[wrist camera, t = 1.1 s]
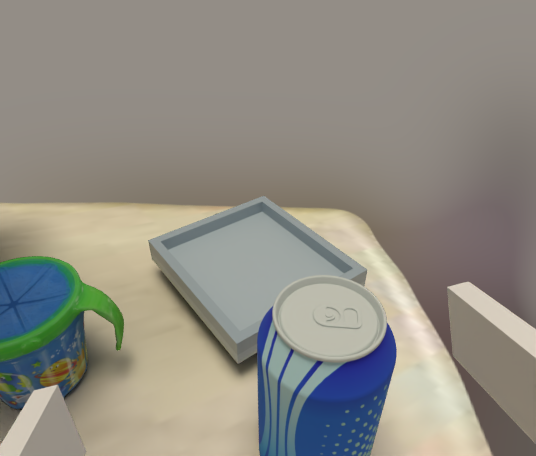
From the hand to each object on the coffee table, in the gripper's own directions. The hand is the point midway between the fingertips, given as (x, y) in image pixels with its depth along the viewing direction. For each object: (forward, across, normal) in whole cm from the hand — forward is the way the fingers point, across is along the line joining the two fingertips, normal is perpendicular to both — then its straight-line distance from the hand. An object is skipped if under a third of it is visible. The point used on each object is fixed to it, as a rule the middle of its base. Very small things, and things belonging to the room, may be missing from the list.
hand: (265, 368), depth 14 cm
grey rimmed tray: (+33, 0, -12) cm, 35 cm away
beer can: (+15, +2, -19) cm, 24 cm away
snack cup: (+25, -20, -12) cm, 34 cm away
